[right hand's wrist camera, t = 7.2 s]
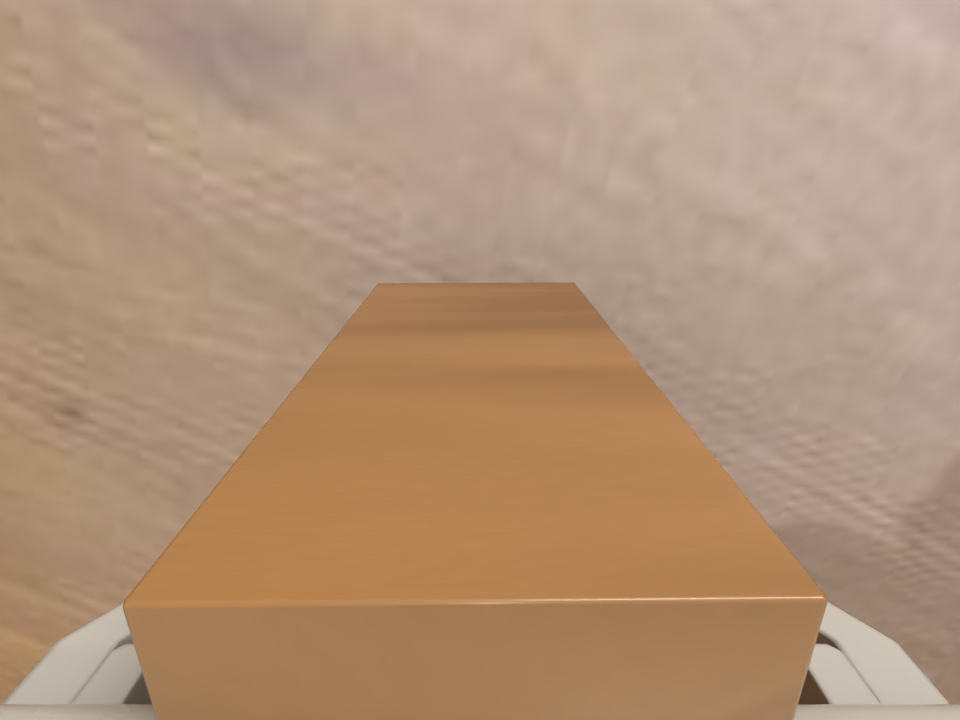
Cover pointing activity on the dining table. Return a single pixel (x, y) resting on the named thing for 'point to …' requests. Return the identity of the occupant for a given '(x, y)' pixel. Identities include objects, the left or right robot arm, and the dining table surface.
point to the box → (476, 539)
